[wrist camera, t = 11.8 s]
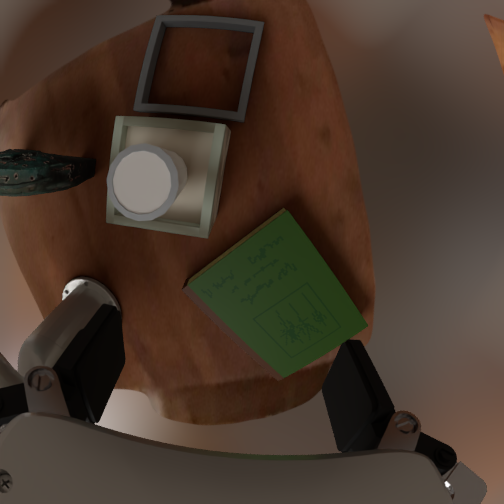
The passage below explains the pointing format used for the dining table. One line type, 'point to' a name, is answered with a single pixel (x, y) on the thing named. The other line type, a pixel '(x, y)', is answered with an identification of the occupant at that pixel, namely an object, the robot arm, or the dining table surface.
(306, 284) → the hardcover book
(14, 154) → the ceramic cat
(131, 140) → the stand
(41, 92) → the dining table surface
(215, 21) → the dark grey square frame
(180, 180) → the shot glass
